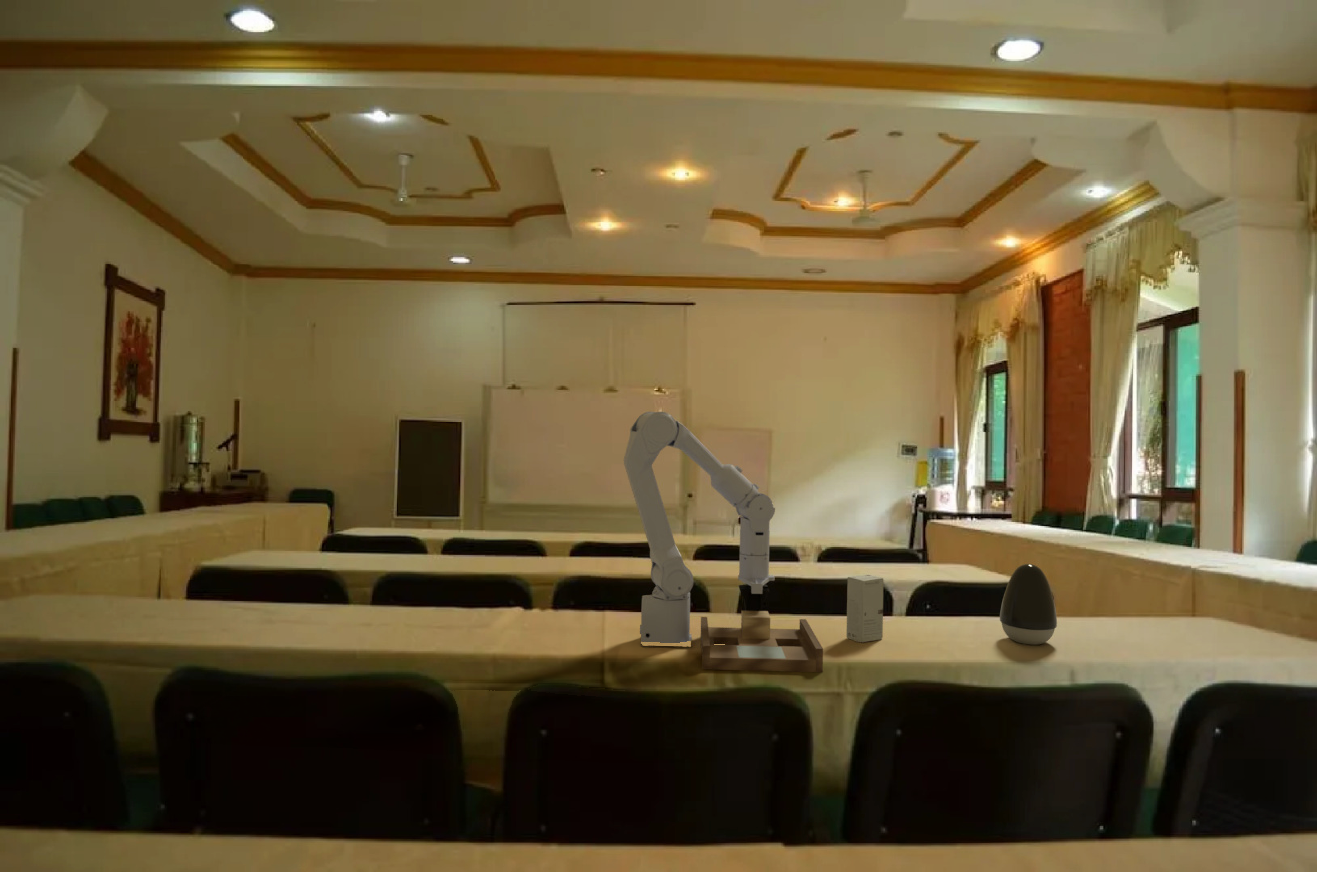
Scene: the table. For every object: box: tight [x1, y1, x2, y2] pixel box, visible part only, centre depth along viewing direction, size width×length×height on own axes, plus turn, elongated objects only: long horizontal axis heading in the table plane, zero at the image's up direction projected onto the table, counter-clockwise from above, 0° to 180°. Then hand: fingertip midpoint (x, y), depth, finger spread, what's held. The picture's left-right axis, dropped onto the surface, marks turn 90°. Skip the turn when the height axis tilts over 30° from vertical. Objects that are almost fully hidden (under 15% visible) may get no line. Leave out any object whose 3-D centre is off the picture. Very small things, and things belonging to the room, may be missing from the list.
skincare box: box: [846, 574, 884, 643], centre depth 160 cm, size 6×4×12 cm
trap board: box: [700, 616, 824, 673], centre depth 149 cm, size 20×20×4 cm
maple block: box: [740, 610, 771, 639], centre depth 154 cm, size 5×5×4 cm
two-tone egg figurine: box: [999, 563, 1058, 646], centre depth 160 cm, size 10×10×15 cm
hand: (753, 622), depth 159 cm, fingers closed
